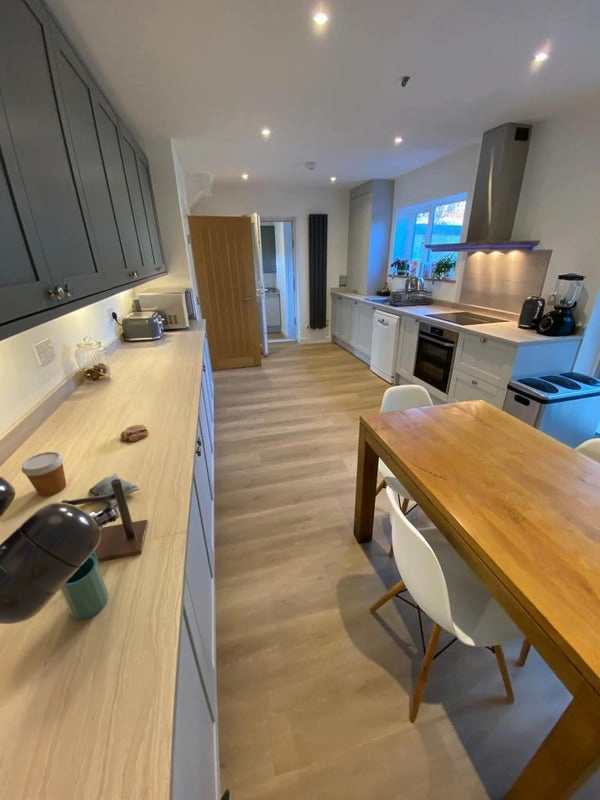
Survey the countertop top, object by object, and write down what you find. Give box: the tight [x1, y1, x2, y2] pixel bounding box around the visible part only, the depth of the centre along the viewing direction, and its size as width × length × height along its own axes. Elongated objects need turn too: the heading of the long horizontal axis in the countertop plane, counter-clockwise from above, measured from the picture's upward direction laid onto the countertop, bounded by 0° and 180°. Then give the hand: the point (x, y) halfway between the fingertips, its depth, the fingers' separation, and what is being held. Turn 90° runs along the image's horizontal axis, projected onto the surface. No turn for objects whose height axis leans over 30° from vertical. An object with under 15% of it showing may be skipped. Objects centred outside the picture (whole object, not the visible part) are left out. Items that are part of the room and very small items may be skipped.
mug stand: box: [60, 479, 149, 563], centre depth 76 cm, size 15×10×18 cm, turn 105°
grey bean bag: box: [88, 473, 141, 507], centre depth 94 cm, size 9×12×5 cm
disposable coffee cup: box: [21, 451, 67, 498], centre depth 93 cm, size 10×10×12 cm
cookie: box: [120, 424, 149, 442], centre depth 126 cm, size 10×11×3 cm
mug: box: [59, 551, 110, 621], centre depth 66 cm, size 11×7×10 cm, turn 15°
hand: (75, 531), depth 59 cm, fingers open, 8 cm apart
